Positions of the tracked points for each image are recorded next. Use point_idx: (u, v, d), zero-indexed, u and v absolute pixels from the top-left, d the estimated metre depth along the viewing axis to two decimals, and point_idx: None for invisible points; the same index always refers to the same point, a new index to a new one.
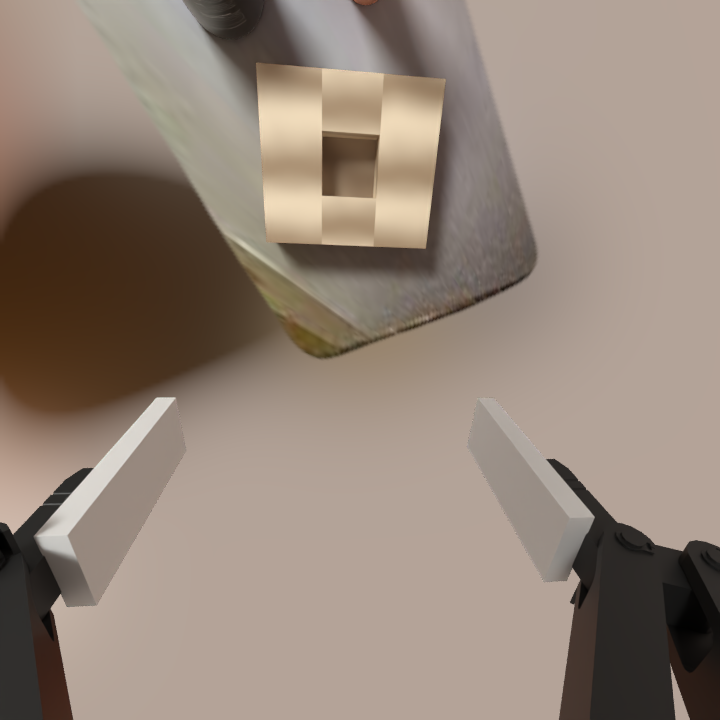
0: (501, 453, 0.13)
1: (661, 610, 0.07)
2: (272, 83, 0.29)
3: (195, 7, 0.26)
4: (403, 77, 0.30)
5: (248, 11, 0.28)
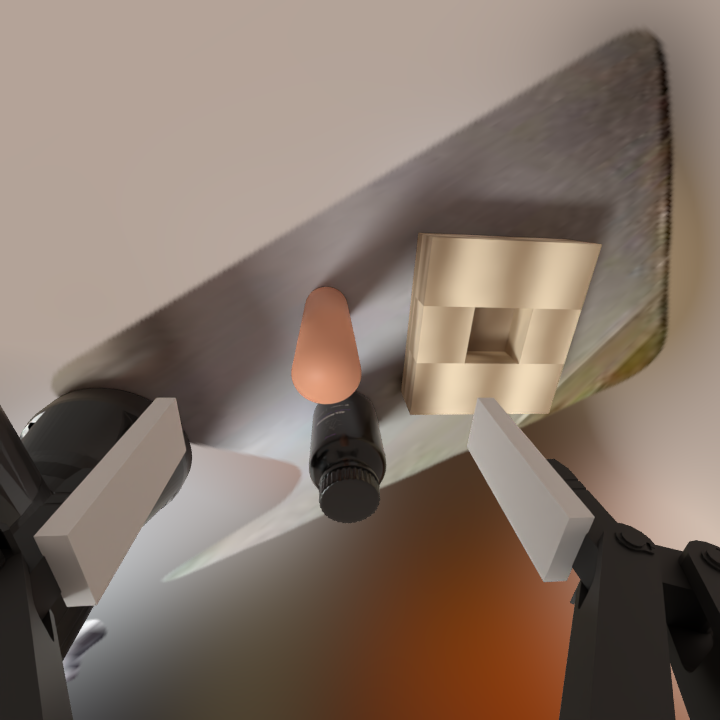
0: (501, 453, 0.13)
1: (661, 610, 0.07)
2: (425, 403, 0.33)
3: None
4: (428, 285, 0.28)
5: (370, 412, 0.34)
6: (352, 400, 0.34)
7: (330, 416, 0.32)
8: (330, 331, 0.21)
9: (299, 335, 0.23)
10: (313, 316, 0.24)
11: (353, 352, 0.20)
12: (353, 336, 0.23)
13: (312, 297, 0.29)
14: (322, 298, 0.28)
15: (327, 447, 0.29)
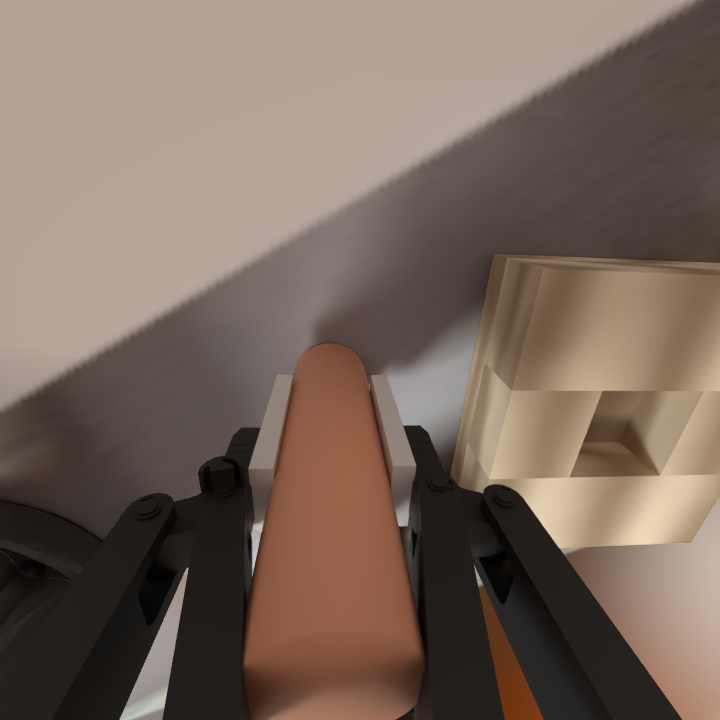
0: (377, 421, 0.15)
1: (465, 534, 0.09)
2: None
3: None
4: (524, 355, 0.15)
5: (403, 541, 0.21)
6: None
7: None
8: (341, 542, 0.08)
9: (269, 502, 0.10)
10: (302, 448, 0.11)
11: (410, 639, 0.07)
12: (391, 502, 0.10)
13: (305, 370, 0.17)
14: (323, 380, 0.15)
15: None
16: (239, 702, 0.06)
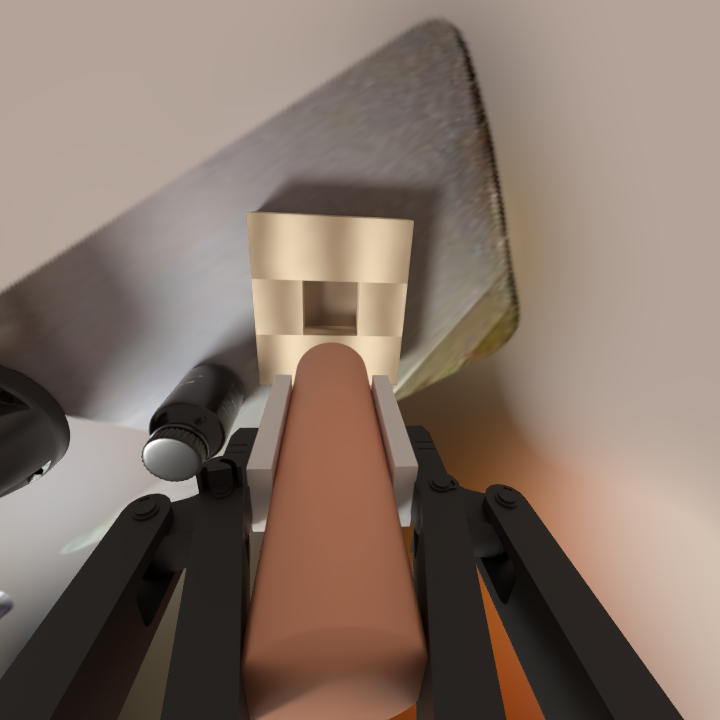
0: (378, 421, 0.15)
1: (467, 535, 0.09)
2: (272, 374, 0.34)
3: (233, 423, 0.36)
4: (252, 258, 0.30)
5: (226, 384, 0.36)
6: (210, 372, 0.36)
7: (180, 385, 0.34)
8: (344, 538, 0.08)
9: (272, 500, 0.10)
10: (305, 446, 0.11)
11: (413, 634, 0.07)
12: (393, 500, 0.10)
13: (307, 369, 0.17)
14: (324, 378, 0.15)
15: (160, 411, 0.30)
16: (237, 702, 0.06)
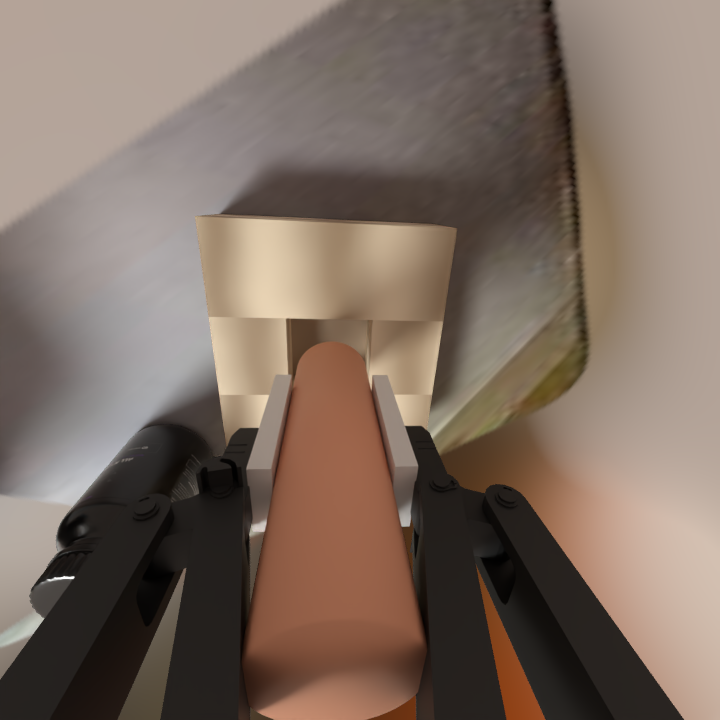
0: (378, 421, 0.15)
1: (467, 535, 0.09)
2: None
3: None
4: (207, 287, 0.19)
5: (183, 457, 0.25)
6: (160, 439, 0.26)
7: (112, 465, 0.24)
8: (344, 534, 0.08)
9: (273, 497, 0.10)
10: (305, 443, 0.11)
11: (412, 627, 0.07)
12: (393, 496, 0.11)
13: (307, 368, 0.17)
14: (325, 377, 0.15)
15: (70, 517, 0.20)
16: (237, 702, 0.06)
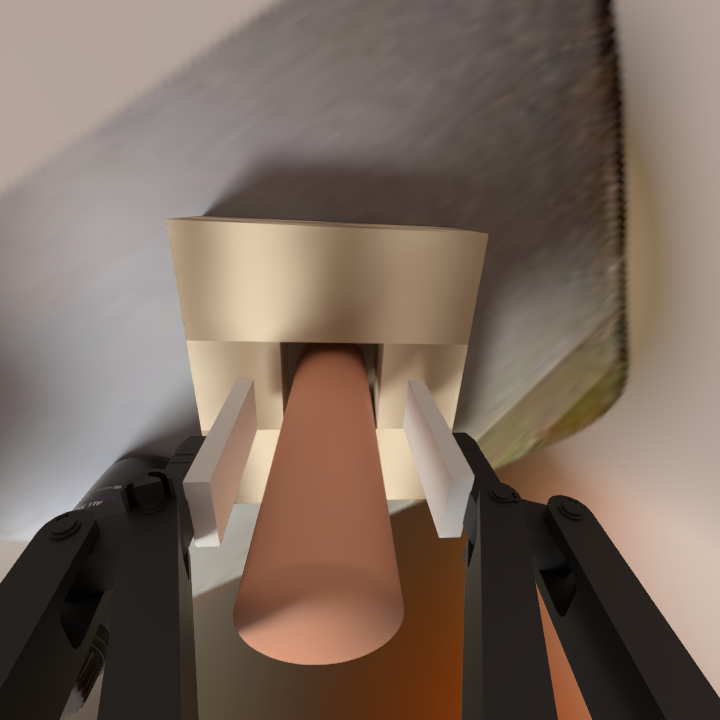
0: (420, 428, 0.14)
1: (527, 550, 0.09)
2: None
3: None
4: (184, 305, 0.16)
5: None
6: None
7: None
8: (331, 496, 0.09)
9: (271, 469, 0.11)
10: (301, 423, 0.12)
11: (386, 573, 0.08)
12: (380, 471, 0.12)
13: (307, 358, 0.18)
14: (323, 366, 0.16)
15: None
16: (179, 719, 0.06)
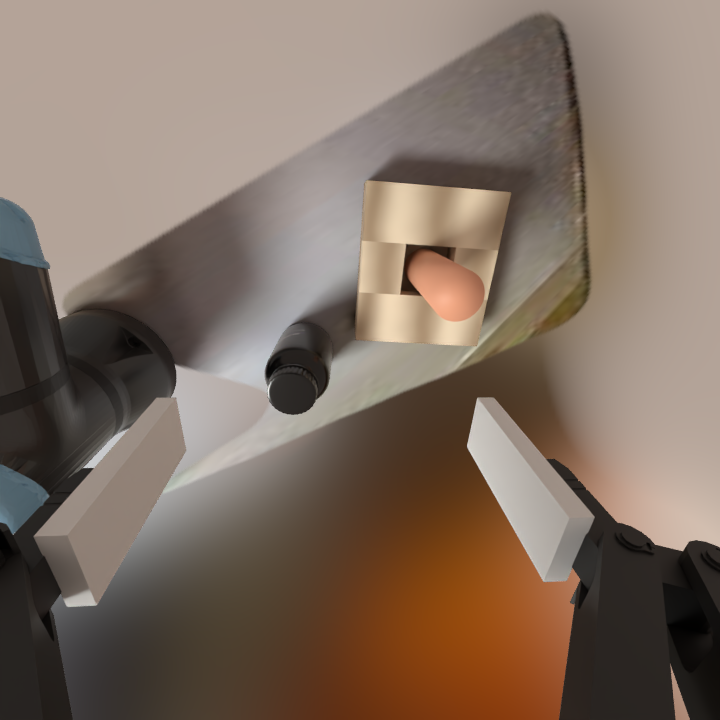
0: (501, 453, 0.13)
1: (661, 610, 0.07)
2: (368, 330, 0.39)
3: None
4: (365, 222, 0.34)
5: (324, 339, 0.40)
6: (309, 328, 0.40)
7: (287, 336, 0.38)
8: (458, 265, 0.27)
9: (425, 273, 0.29)
10: (433, 260, 0.30)
11: (480, 279, 0.26)
12: None
13: (417, 254, 0.36)
14: (430, 253, 0.34)
15: (278, 353, 0.35)
16: None
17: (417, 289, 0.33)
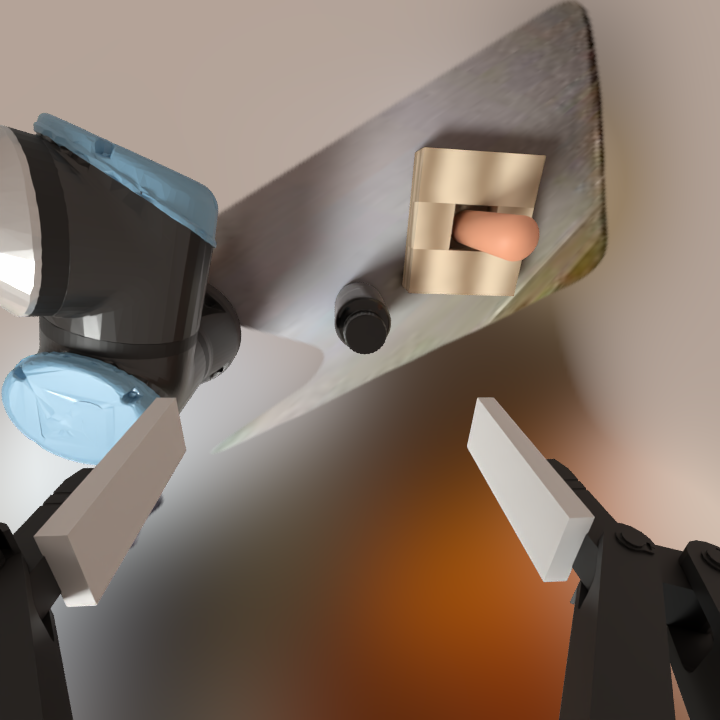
0: (501, 453, 0.13)
1: (661, 610, 0.07)
2: (420, 283, 0.44)
3: None
4: (421, 185, 0.39)
5: (379, 294, 0.45)
6: (365, 285, 0.46)
7: (349, 291, 0.43)
8: None
9: (482, 224, 0.35)
10: (488, 214, 0.36)
11: None
12: None
13: (465, 213, 0.41)
14: (478, 211, 0.39)
15: (349, 302, 0.40)
16: None
17: (470, 242, 0.38)
